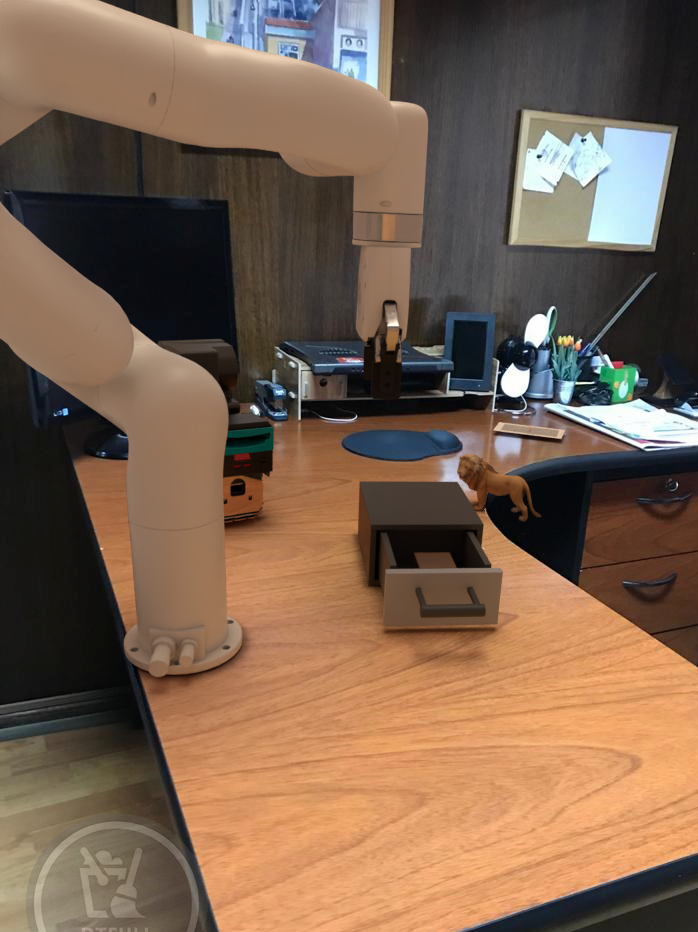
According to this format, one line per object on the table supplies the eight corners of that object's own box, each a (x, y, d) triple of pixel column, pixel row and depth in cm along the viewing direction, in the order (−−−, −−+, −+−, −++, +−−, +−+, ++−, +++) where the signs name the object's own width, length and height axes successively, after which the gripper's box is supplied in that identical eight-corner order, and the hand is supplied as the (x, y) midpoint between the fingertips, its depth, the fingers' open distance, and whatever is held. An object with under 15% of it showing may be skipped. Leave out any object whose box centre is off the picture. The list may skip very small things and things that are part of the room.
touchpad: (498, 426, 179) (499, 417, 178) (564, 434, 175) (565, 425, 174) (492, 435, 172) (493, 425, 171) (560, 443, 168) (562, 433, 167)
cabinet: (478, 584, 102) (483, 524, 99) (368, 585, 100) (370, 524, 97) (453, 534, 118) (457, 481, 114) (357, 535, 116) (359, 481, 113)
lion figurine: (449, 508, 128) (453, 456, 125) (460, 498, 133) (464, 448, 129) (536, 525, 123) (543, 471, 119) (544, 514, 127) (551, 462, 124)
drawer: (510, 650, 85) (516, 595, 83) (389, 653, 84) (393, 597, 81) (468, 567, 105) (473, 521, 102) (370, 568, 103) (372, 521, 101)
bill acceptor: (213, 535, 113) (207, 365, 104) (162, 488, 131) (152, 339, 122) (278, 523, 119) (277, 360, 110) (220, 479, 136) (215, 336, 127)
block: (454, 601, 93) (457, 567, 91) (417, 602, 93) (419, 568, 91) (447, 584, 97) (449, 552, 96) (411, 585, 97) (413, 552, 95)
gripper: (346, 228, 91) (343, 373, 97) (359, 232, 75) (354, 406, 81) (410, 230, 92) (402, 374, 98) (435, 236, 76) (424, 407, 82)
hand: (380, 388), depth 89 cm, fingers open, 9 cm apart
